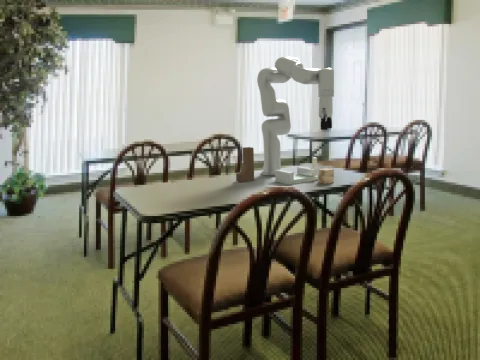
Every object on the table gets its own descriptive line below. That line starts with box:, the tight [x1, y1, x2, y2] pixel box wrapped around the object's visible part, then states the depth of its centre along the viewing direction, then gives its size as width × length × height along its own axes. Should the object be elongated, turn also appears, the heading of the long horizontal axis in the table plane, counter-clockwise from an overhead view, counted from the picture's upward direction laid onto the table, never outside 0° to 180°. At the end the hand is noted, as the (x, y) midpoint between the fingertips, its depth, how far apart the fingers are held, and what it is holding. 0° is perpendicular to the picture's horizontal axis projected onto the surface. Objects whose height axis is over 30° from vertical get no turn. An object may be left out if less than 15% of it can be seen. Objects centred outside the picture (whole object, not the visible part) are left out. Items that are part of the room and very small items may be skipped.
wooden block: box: [235, 146, 255, 183], centre depth 262 cm, size 9×4×18 cm, turn 120°
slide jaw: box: [296, 157, 318, 177], centre depth 265 cm, size 12×9×9 cm
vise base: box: [274, 169, 318, 185], centre depth 261 cm, size 12×20×6 cm, turn 122°
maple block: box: [317, 167, 335, 185], centre depth 253 cm, size 5×6×7 cm
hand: (326, 128), depth 243 cm, fingers open, 9 cm apart
